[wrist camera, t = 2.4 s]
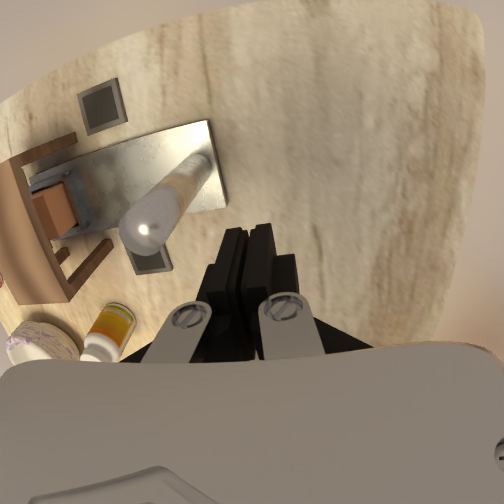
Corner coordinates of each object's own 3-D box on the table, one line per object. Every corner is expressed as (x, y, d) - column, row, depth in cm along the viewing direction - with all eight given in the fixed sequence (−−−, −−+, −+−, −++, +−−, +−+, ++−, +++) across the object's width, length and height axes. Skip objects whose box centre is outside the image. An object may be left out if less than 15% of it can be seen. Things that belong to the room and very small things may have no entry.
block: (68, 179, 32) (43, 195, 27) (82, 218, 34) (59, 237, 30) (41, 189, 32) (16, 205, 28) (54, 225, 35) (32, 244, 30)
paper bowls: (35, 294, 43) (9, 325, 36) (104, 350, 48) (86, 386, 41) (20, 332, 49) (0, 359, 42) (77, 378, 54) (62, 408, 47)
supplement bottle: (100, 299, 42) (69, 346, 33) (133, 305, 42) (106, 355, 33) (107, 326, 44) (81, 373, 36) (139, 332, 44) (116, 382, 36)
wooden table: (117, 78, 27) (50, 84, 17) (173, 268, 38) (141, 332, 28) (-31, 158, 32) (-82, 186, 22) (21, 286, 43) (-16, 328, 33)
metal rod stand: (208, 119, 29) (148, 152, 15) (227, 203, 33) (193, 292, 20) (33, 175, 32) (-52, 229, 19) (56, 237, 37) (-14, 306, 24)
